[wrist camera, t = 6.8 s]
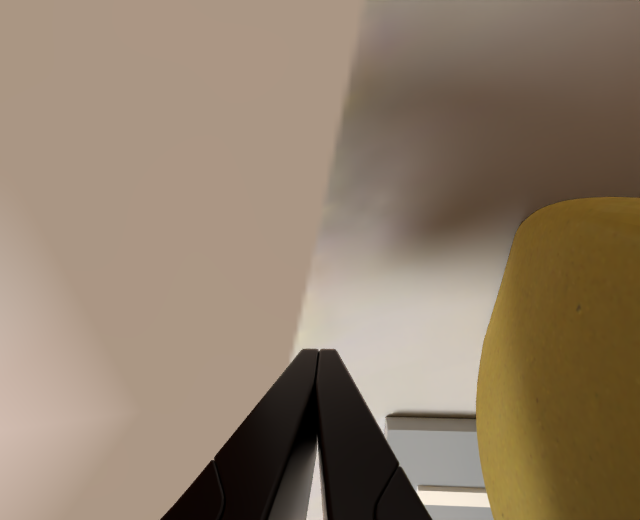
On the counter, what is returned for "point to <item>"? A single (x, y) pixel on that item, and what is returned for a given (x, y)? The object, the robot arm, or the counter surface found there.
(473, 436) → the tile
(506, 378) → the flower pot
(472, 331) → the counter surface
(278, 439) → the robot arm
